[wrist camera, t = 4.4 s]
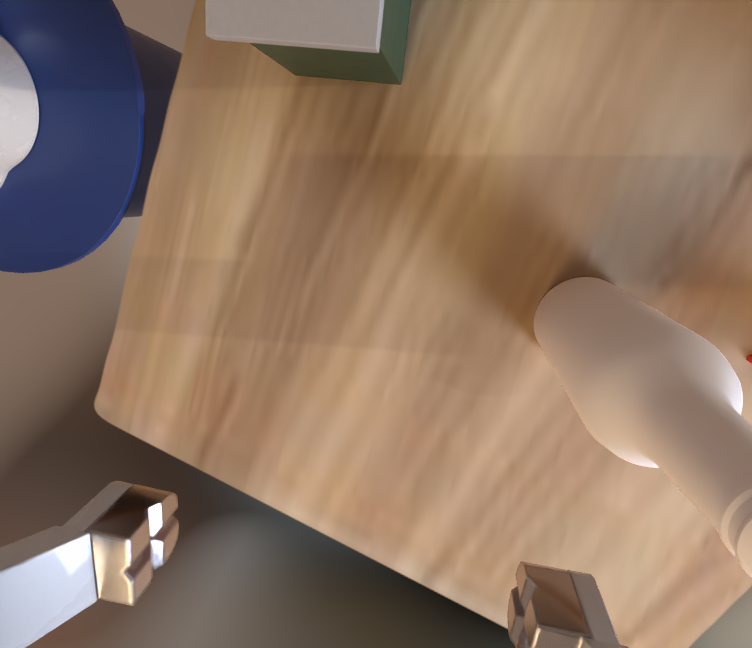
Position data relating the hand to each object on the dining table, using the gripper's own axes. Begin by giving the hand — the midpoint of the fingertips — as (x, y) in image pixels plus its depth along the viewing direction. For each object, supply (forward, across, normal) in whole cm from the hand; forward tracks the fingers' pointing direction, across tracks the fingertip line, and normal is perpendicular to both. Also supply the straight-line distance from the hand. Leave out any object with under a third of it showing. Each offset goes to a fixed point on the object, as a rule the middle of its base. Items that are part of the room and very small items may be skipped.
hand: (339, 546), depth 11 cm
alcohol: (+36, +16, -3) cm, 40 cm away
